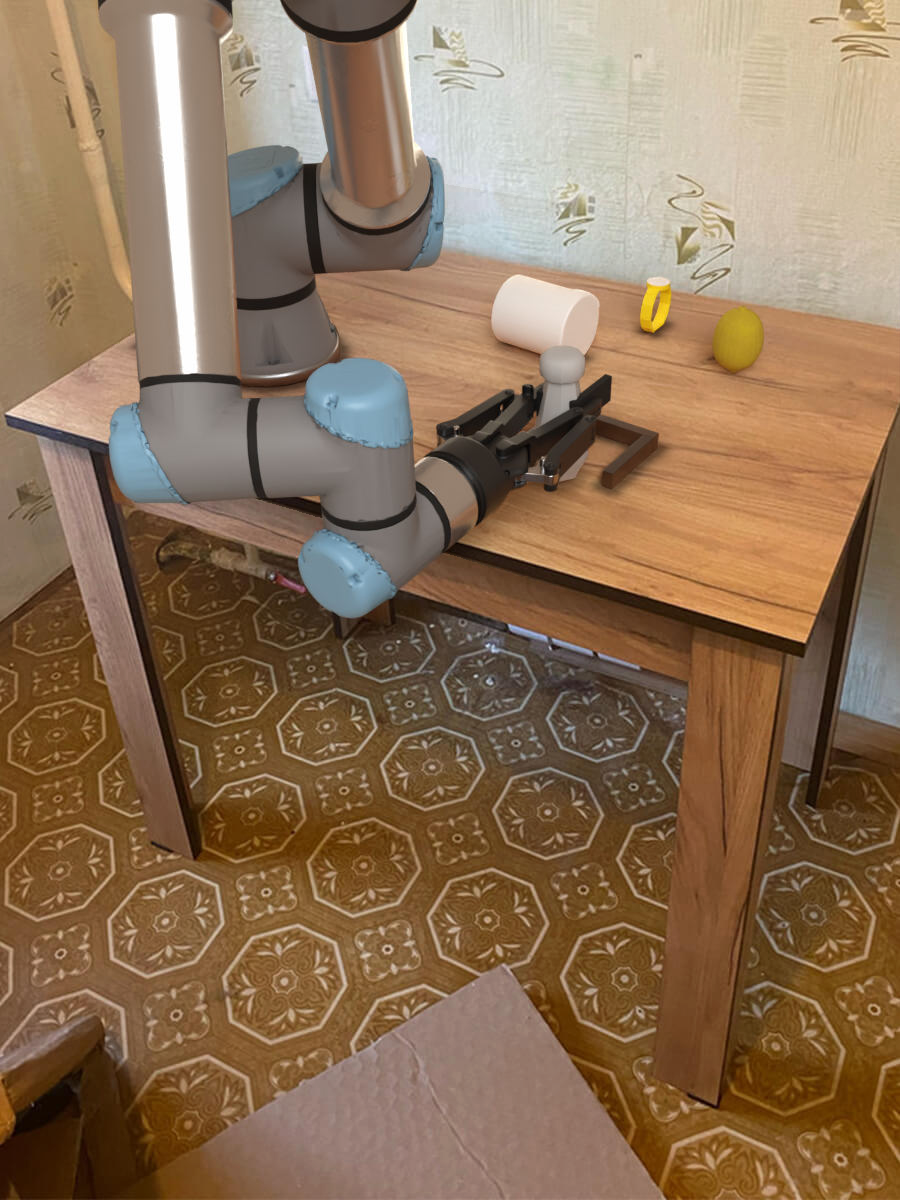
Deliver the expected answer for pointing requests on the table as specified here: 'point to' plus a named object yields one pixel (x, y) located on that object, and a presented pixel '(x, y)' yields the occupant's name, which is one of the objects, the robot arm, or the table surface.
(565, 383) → the salt shaker
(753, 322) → the lemon
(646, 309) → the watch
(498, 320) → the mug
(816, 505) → the table surface
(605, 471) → the walnut stop
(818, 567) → the table surface
